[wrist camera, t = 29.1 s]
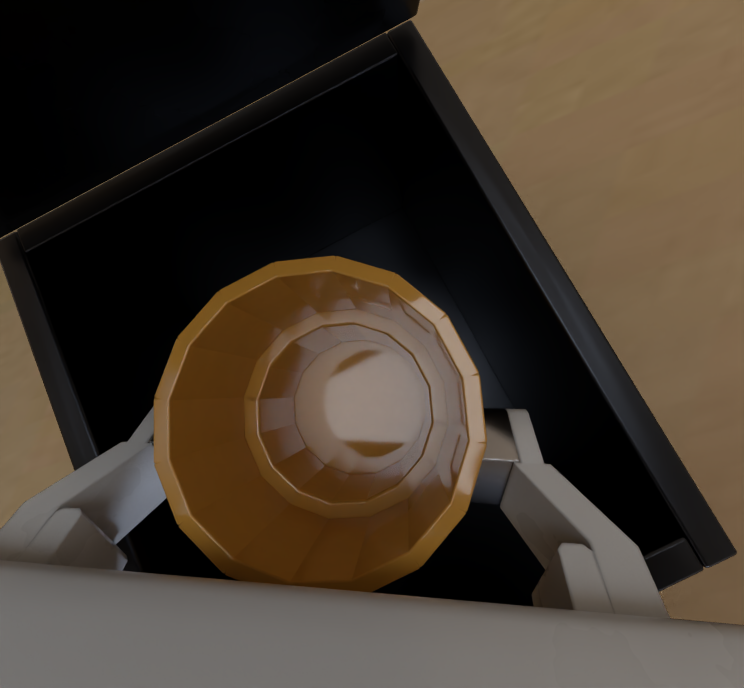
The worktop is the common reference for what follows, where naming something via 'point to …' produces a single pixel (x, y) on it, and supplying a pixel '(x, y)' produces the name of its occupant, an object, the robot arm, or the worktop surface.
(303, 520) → the golden yellow cup
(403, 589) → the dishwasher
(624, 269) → the worktop surface
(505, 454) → the robot arm
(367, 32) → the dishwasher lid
